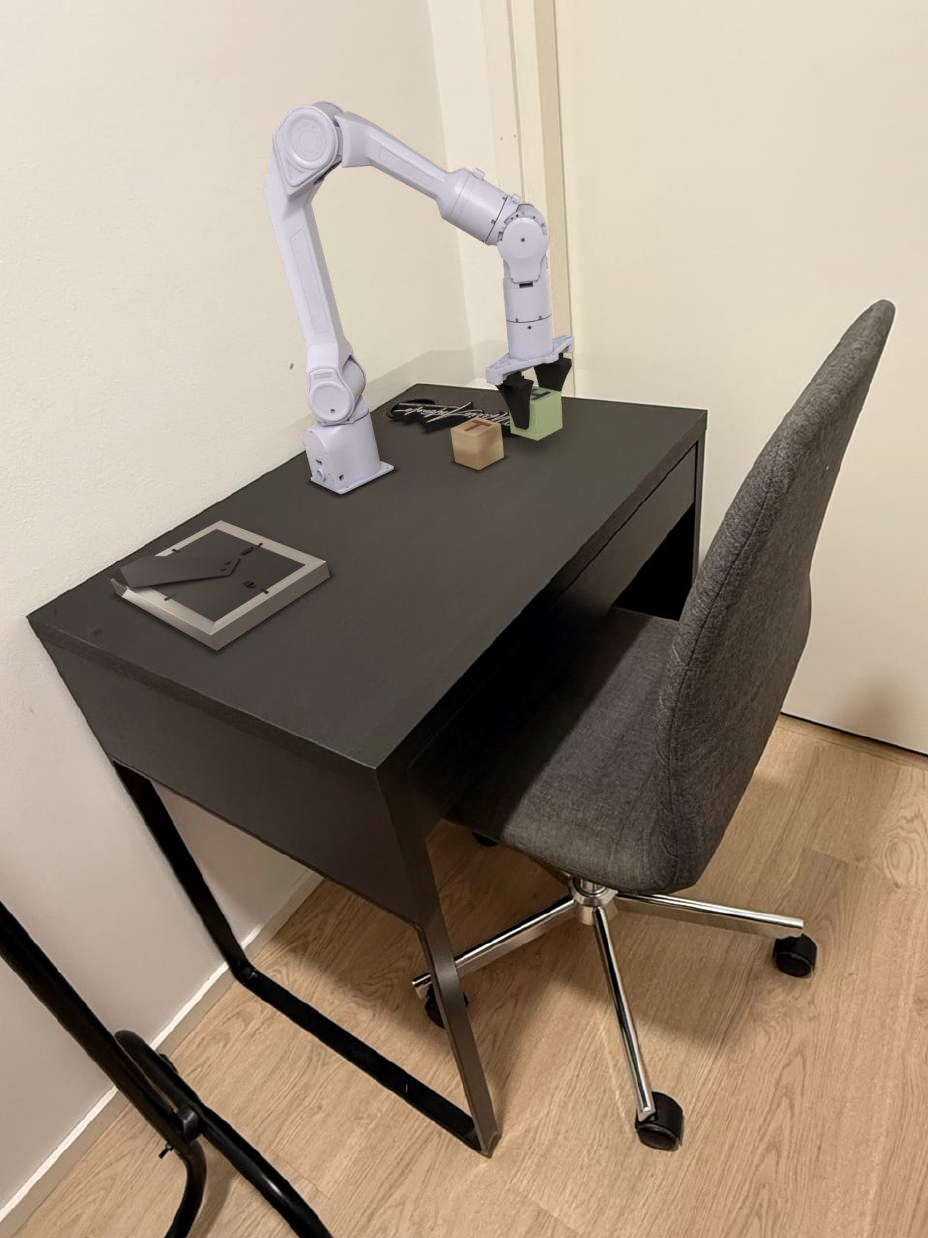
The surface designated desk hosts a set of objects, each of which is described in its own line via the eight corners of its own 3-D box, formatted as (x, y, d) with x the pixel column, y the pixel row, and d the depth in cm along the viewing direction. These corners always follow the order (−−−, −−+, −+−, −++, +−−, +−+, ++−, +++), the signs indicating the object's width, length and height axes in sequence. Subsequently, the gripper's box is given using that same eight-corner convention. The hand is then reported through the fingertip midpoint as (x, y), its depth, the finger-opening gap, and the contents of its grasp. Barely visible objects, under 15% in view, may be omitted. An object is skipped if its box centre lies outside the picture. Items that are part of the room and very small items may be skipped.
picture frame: (117, 594, 89) (216, 651, 77) (107, 574, 87) (208, 629, 75) (225, 534, 98) (330, 576, 86) (218, 515, 96) (324, 555, 84)
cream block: (478, 470, 103) (474, 435, 100) (454, 462, 107) (450, 428, 104) (504, 457, 106) (500, 422, 103) (480, 449, 109) (476, 415, 106)
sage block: (537, 440, 99) (535, 403, 96) (510, 432, 102) (507, 396, 99) (562, 427, 101) (561, 391, 98) (535, 420, 105) (533, 384, 102)
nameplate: (558, 405, 115) (534, 431, 108) (559, 414, 116) (534, 441, 109) (406, 397, 127) (375, 420, 120) (407, 405, 127) (377, 429, 121)
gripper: (510, 336, 87) (519, 445, 95) (591, 303, 94) (593, 407, 102) (469, 329, 91) (481, 434, 99) (549, 298, 98) (555, 398, 106)
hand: (535, 420), depth 101 cm, fingers closed on sage block, 5 cm apart
